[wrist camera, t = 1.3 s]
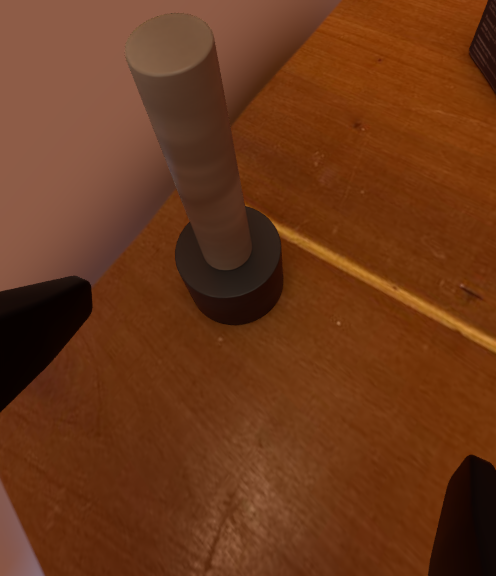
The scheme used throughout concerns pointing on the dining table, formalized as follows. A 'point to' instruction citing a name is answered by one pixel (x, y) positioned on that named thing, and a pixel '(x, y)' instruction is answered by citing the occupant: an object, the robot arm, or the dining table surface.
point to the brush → (205, 171)
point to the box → (486, 43)
